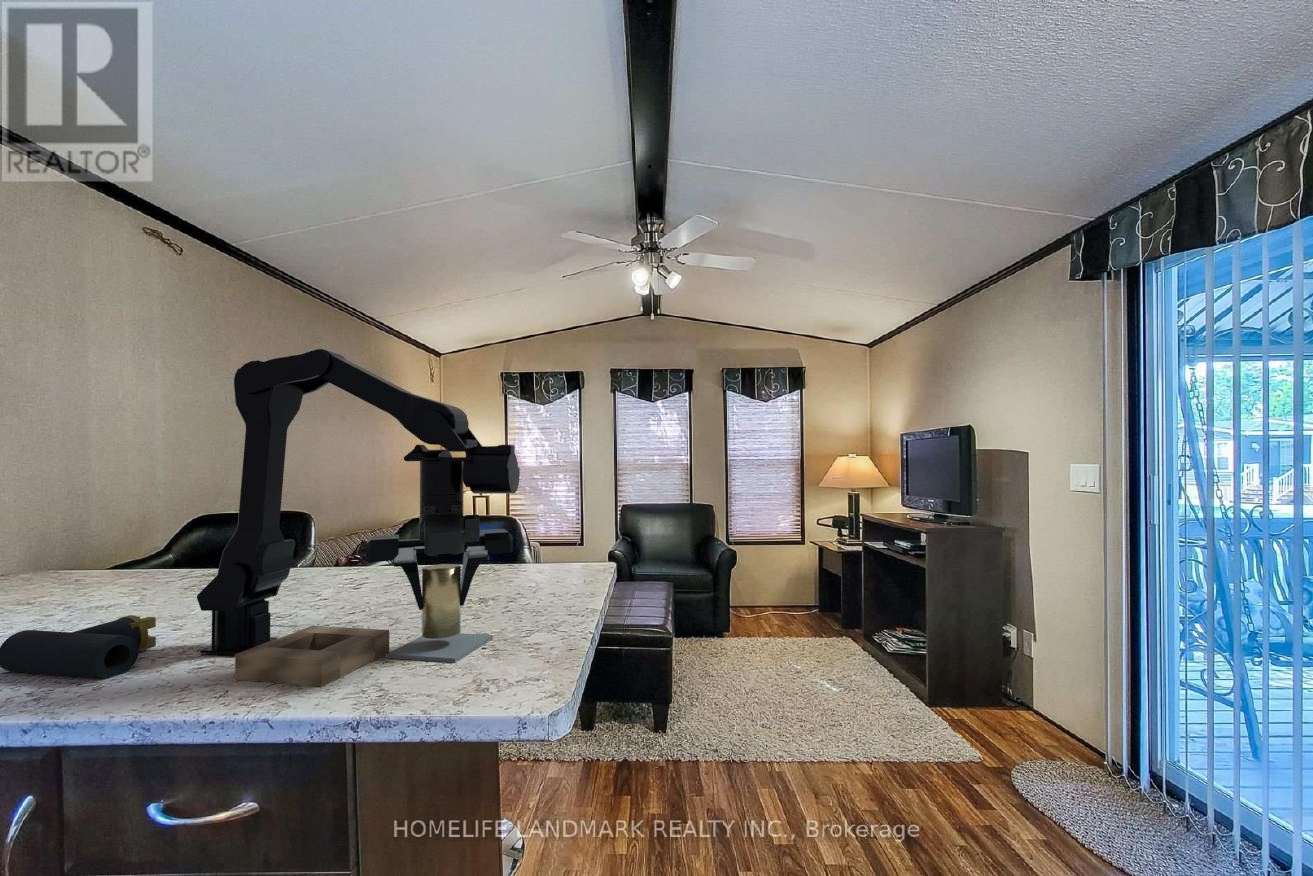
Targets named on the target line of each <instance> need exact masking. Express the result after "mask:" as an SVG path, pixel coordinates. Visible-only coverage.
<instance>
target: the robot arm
mask: <svg viewBox="0 0 1313 876" xmlns="http://www.w3.org/2000/svg"><path fill="white" fill-rule="evenodd" d="M233 377H234V378H233V387H234V388H233V389H234V400H235V405H236V407H237V410H238V412H239V414H240V416H241V418H242V420H243V422H244V424H245V432H244V433H245V434H244V448H243V457H242V469H241V481H240V493H239V503H238V517H237V526H236V530H235V531H234V533H233V535H232V536H231V538H230V540H229V541H228V543H227V544H226V546H225V547H224V549H223V551H222V553H221V554H222V555H221V558H220V562H219V566H218V571H217V575H216V576H215V577H214V578H213V579H212V580H211V581H210V582H209V583H208V584H207V585H206V586H205V587H204V588H203V589H202V590H200V591H199V593H198V594H197V596H196V599H197V602H198V605H199V608H200V610H201V611H205V612H206V611H207V612H208V611H211V645H209V646H206V647H203V648H201V649H200V653H201V654H209V655H210V654H213V655H225V656H226V655H227V656H235V654H237V653H240V652H243V651H245V650H248V649H251V648H254V647H256V646H259V645H262V644H264V643H267V642H270V641H273V640H275V639H278V638H279V637H275V636H274V637H273V636H271V612H270V611H269V610H270V609H269V608H270V606H269V605H270V602H269V600H266V599H269V598H271V597H272V598H273V597H276V596H277V595H278V593H279V590H280V587H281V586H282V583H284V581H285V580H287V578H288V577H289V575H290V571H291V569H293V568H295V562H294V552H295V548H296V540H295V539H286V538H285V537H284V535H283V533H282V531H281V528H280V522H281V521H280V520H281V511H282V497H283V485H284V472H285V461H286V448H287V438H288V437H287V435H288V434H287V433H288V430H289V429H288V428H289V426H290V425H291V423H292V421H293V420H294V419H295V418H296V415H297V414H298V412H299V411H300V409H301V404H302V401H303V398H304V396H305V395H307V394H311V393H314V392H316V391H318V390H320V389H322V388H323V387H325V386H326V385H328V384H331V385H333V386H335V387H337V388H339V389H341V390H343V391H345V392H346V393H349V394H350V395H353V396H354V397H356V398H358V399H360V400H362V401H364V402H366V403H368V404H370V405H372V406H373V407H375V408H378V409H379V410H381V411H384V412H386V413H388V414H389V415H391V416H392V417H393V418H395V419H396V420H397V421H398V422H399V424H400V425H402V427H403V428H404V429H405V430H407V431H408V432H409V433H411V434H412V435H413V436H415V437H416V438H417V439H418V440H419V441H421V442H422V443H424V444H419V443H418V444H415V446H414V448H413V449H411V451H409V452H408V453H407V454H406V455H404V457H403V460H404V461H405V462H419V538H417V539H416V538H415V539H400V534H386V535H385V534H384V535H371V536H370V538H368V539H367V541H366V544H365V562H366V563H382V562H392V567H394V568H397V567H398V568H399V567H400V568H401V569H402V571H403V572H404V573H405V576H406V577H407V580H408V582H409V583H410V587H411V589H412V592H413V596H414V598H415V601H416V604H417V607H418V610H419V611H422V585H421V580H420V573H419V566H418V560H417V559H418V558H417V553H418V554H419V553H424V554H425V555H427V557H437V556H438V555H445V554H446V555H448V554H452V555H459V554H462V553H463V558H462V566H461V606H464V604H465V602H466V599H467V596H468V594H469V590H470V587H471V586H472V585H471V584H472V581H473V578H474V576H475V574H476V571H477V570H478V568H479V566H480V565H481V563H482V562H483V561H489V560H490V555H489V554H491V555H493V554H494V555H495V554H508V553H513V552H514V538H513V535H512V534H511V533H510V532H509V531H508V530H506V529H505V528H496V529H495V528H494V529H481V528H480V527H481V525H480V523H481V522H480V521H481V520H480V519H481V518H480V515H479V514H465V515H464V486H465V487H466V488H469V489H470V491H471V492H472V493H473V494H474V495H479V494H480V495H481V494H484V495H485V494H486V495H487V494H489V495H490V494H497V495H498V494H516V492H517V491H518V488H519V483H520V477H521V476H520V473H521V471H520V467H519V463H518V458H517V455H516V452H515V450H516V448H515V445H514V444H499V445H494V446H493V445H490V446H489V445H488V446H485V445H484V446H483V445H482V444H481V442H480V440H479V439H478V438H477V437H476V436H475V435H474V433H473V432H472V431H471V429H470V428H469V425H470V424H469V423H470V422H469V420H468V417H467V413H466V412H465V411H463V409H461V408H460V407H457V406H454V405H451V404H448V403H444V402H443V401H442V402H441V401H437V400H435V399H431V398H428V397H424V396H421V395H418V394H414V393H412V392H410V391H408V390H406V389H405V388H403V387H400V386H399V385H396V384H394V383H392V382H390V381H388V380H386V379H385V378H383V377H381V376H380V375H377V374H376V373H374V372H371V371H370V370H368V369H365V368H363V367H362V366H360V365H358V364H356V363H354V362H352V361H350V360H348V359H347V358H345V356H344V355H343V354H341V353H336V352H335V351H334V352H333V351H330V350H326V349H323V348H317V349H313V350H310V351H307V352H304V353H300V354H296V355H295V354H294V355H289V356H283V357H275V358H272V359H268V360H265V361H262V360H257V359H256V360H250V361H248V362H246V363H244V364H243V365H242V366H241V367H240V368H237V370H236V371H235V373H234V376H233ZM425 444H428V445H433V446H434V445H435V446H436V445H437V446H441V447H442V448H444V449H428V447H426V445H425ZM451 452H453V453H455V452H456V453H461V452H462V453H465V456H464V457H463V456H461V457H459V456H457V457H455V456H454V457H453V456H452V453H451ZM465 550H466V551H465ZM488 552H489V554H488Z"/></svg>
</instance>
